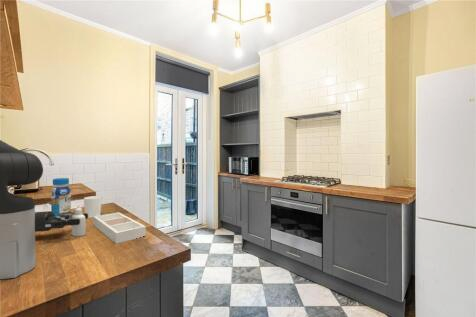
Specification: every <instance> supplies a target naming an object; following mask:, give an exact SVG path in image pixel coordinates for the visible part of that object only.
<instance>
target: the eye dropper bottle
mask: <svg viewBox="0 0 476 317" xmlns="http://www.w3.org/2000/svg"><path fill="white" fill-rule="evenodd" d="M74 212H75V215H73V216H72V219H80V224H79V225H71V235H72V236H73V237H83V236H85V235H86V230H87V229H86V228H87V227H86V220H87V219H85V216H84V215H83V208H82V207H80V205H77V206H76V208H75V209H74Z"/></svg>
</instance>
